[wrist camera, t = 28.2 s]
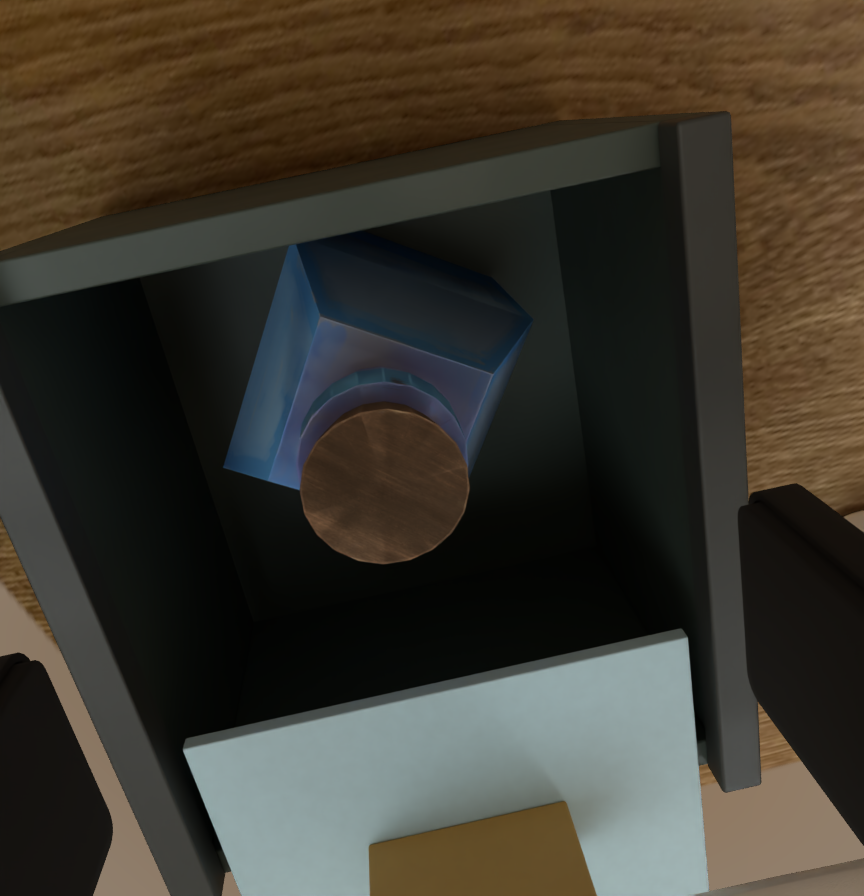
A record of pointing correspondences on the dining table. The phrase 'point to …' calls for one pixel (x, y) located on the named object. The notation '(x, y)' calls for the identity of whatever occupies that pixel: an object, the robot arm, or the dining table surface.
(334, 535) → the perfume bottle
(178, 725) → the display box
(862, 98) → the dining table surface
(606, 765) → the box lid
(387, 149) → the dining table surface
